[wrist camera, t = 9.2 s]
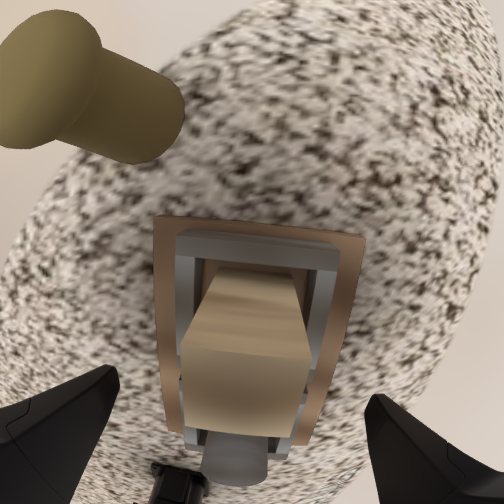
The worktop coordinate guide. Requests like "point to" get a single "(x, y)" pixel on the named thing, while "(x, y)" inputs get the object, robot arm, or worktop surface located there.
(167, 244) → the board
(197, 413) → the maple pin
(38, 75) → the olive green peg figure
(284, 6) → the worktop surface
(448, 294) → the worktop surface
